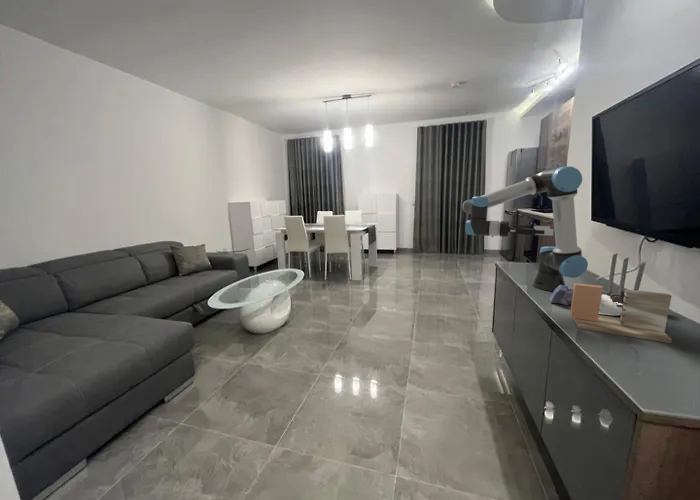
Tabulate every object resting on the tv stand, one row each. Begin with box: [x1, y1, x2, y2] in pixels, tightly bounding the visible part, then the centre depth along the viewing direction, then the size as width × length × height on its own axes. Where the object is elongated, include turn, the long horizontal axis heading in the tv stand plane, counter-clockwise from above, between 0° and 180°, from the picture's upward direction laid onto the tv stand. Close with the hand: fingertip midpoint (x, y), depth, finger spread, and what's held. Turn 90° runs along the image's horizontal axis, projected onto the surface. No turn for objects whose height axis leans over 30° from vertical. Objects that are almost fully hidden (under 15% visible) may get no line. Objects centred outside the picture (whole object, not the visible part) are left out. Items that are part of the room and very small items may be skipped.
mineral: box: [549, 284, 574, 306], centre depth 141 cm, size 15×10×10 cm
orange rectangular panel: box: [569, 282, 604, 322], centre depth 119 cm, size 2×9×14 cm, turn 62°
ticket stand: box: [573, 288, 673, 344], centre depth 114 cm, size 14×26×16 cm, turn 62°
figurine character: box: [609, 291, 625, 304], centre depth 133 cm, size 7×8×15 cm
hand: (551, 230), depth 135 cm, fingers open, 13 cm apart
